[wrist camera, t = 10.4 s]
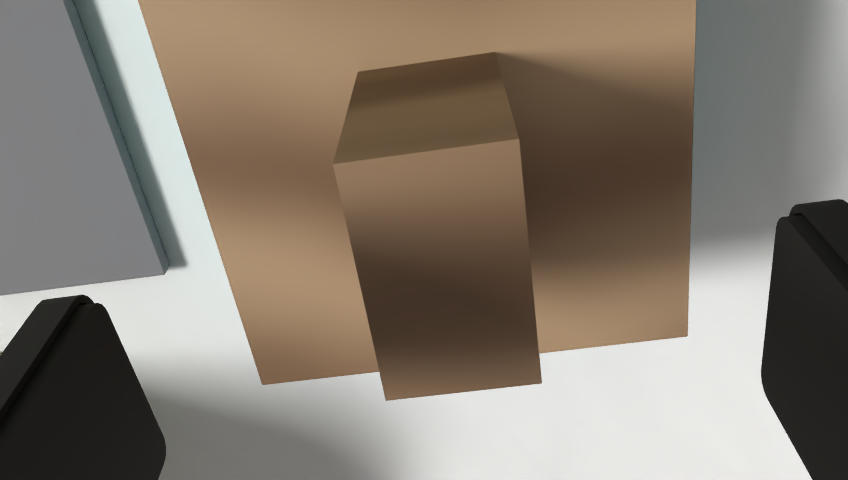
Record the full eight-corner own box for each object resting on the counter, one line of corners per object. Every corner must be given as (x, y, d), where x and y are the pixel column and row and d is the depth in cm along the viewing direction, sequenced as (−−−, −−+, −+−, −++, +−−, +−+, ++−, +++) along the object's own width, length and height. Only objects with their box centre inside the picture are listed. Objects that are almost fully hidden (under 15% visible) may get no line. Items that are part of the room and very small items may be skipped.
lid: (136, -62, 16) (-2, -2, 11) (684, -151, 15) (816, -131, 10) (269, 362, 22) (218, 535, 17) (676, 314, 21) (759, 482, 16)
